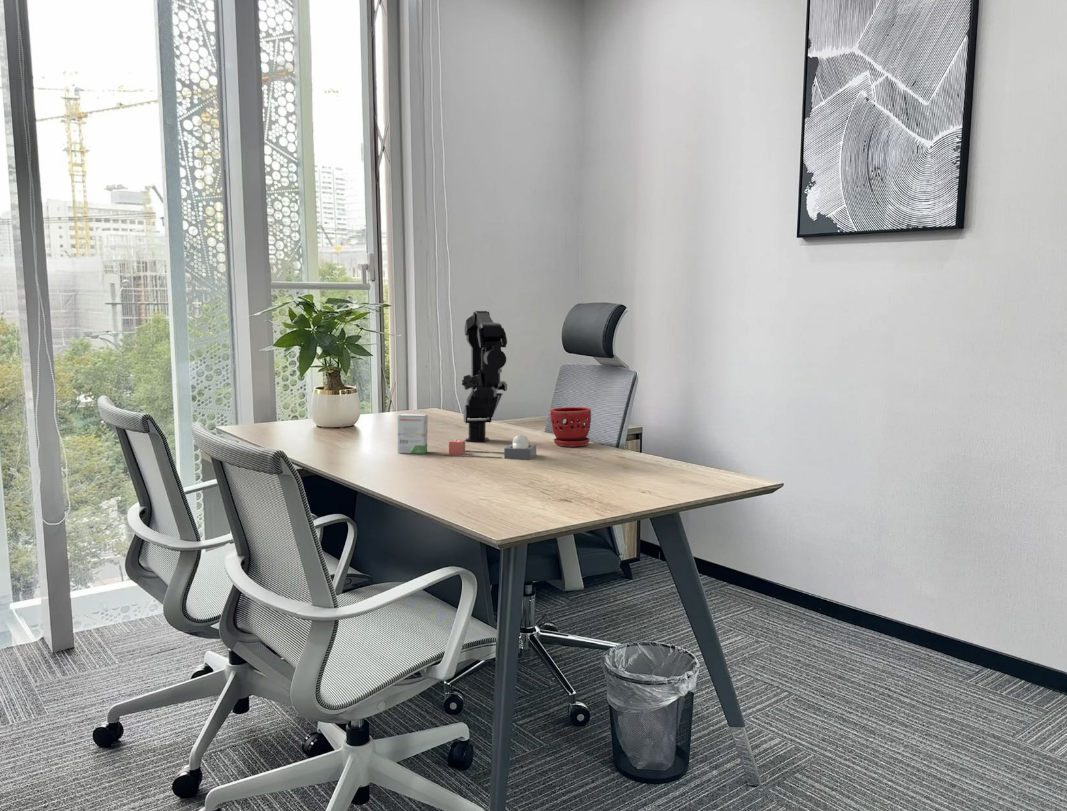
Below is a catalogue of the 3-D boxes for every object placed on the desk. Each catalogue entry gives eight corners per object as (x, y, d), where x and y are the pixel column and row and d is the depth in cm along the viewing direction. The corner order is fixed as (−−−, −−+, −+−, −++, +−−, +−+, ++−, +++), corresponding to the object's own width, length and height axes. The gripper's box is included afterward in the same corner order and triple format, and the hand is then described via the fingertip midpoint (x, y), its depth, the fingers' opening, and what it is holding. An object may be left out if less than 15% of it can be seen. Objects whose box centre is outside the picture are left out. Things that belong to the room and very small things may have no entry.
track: (452, 450, 270) (452, 449, 270) (508, 453, 266) (508, 452, 266) (443, 455, 261) (443, 454, 261) (500, 458, 257) (500, 457, 257)
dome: (514, 453, 263) (514, 432, 262) (530, 454, 262) (530, 433, 261) (510, 456, 259) (510, 435, 258) (526, 456, 258) (526, 435, 257)
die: (452, 452, 267) (452, 438, 267) (465, 453, 266) (465, 439, 266) (448, 454, 263) (448, 440, 263) (461, 455, 262) (461, 441, 262)
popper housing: (510, 453, 265) (510, 443, 265) (536, 454, 263) (536, 445, 263) (504, 458, 257) (504, 448, 257) (530, 459, 256) (530, 449, 255)
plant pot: (588, 441, 288) (588, 405, 287) (592, 448, 275) (593, 411, 273) (549, 441, 288) (549, 406, 286) (551, 448, 275) (551, 411, 273)
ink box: (397, 453, 265) (396, 415, 263) (401, 450, 270) (400, 413, 268) (424, 454, 264) (424, 415, 262) (428, 451, 269) (428, 413, 268)
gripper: (472, 362, 270) (472, 411, 272) (456, 368, 251) (456, 421, 254) (507, 363, 268) (507, 413, 270) (493, 369, 249) (493, 422, 252)
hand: (490, 417), depth 261 cm, fingers closed
